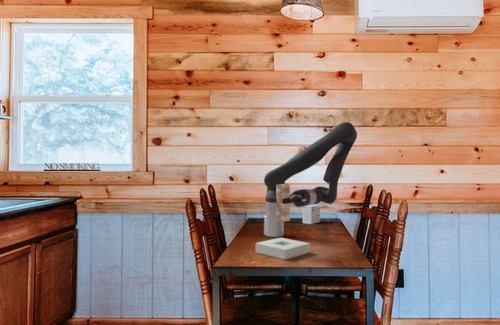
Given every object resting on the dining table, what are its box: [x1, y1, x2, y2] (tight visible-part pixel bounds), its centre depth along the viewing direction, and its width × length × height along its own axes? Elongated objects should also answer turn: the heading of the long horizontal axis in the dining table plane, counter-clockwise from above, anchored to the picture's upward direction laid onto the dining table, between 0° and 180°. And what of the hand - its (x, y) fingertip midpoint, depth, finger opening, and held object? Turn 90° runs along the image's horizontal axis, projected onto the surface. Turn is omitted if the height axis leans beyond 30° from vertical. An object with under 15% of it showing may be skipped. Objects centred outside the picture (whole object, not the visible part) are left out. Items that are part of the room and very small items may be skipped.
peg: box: [276, 183, 291, 223], centre depth 156 cm, size 4×4×15 cm
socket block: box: [254, 237, 311, 261], centre depth 156 cm, size 16×16×4 cm
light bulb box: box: [301, 204, 321, 225], centre depth 230 cm, size 11×7×11 cm, turn 141°
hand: (278, 200), depth 154 cm, fingers closed on peg, 4 cm apart
